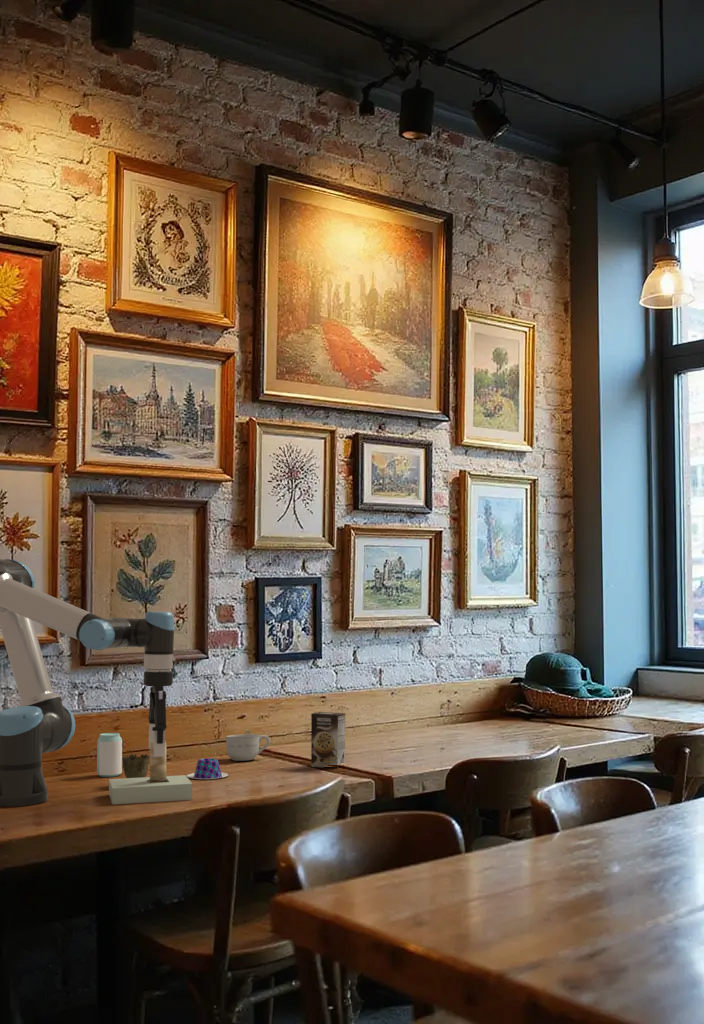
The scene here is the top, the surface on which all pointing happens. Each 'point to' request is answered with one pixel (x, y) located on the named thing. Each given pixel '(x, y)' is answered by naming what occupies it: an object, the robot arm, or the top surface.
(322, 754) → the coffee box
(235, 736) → the teacup
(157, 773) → the peg
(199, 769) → the pudding
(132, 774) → the cup
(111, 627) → the robot arm
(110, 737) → the can
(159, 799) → the board
